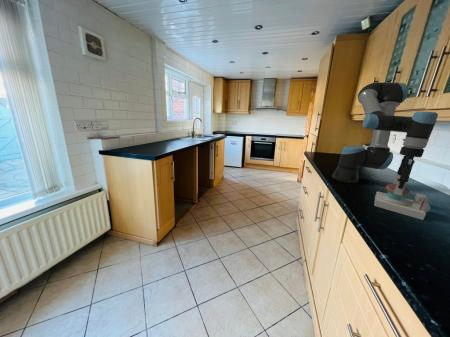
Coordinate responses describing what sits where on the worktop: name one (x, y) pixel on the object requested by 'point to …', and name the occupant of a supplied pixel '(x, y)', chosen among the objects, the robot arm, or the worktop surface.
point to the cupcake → (392, 188)
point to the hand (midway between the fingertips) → (396, 190)
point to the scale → (404, 205)
